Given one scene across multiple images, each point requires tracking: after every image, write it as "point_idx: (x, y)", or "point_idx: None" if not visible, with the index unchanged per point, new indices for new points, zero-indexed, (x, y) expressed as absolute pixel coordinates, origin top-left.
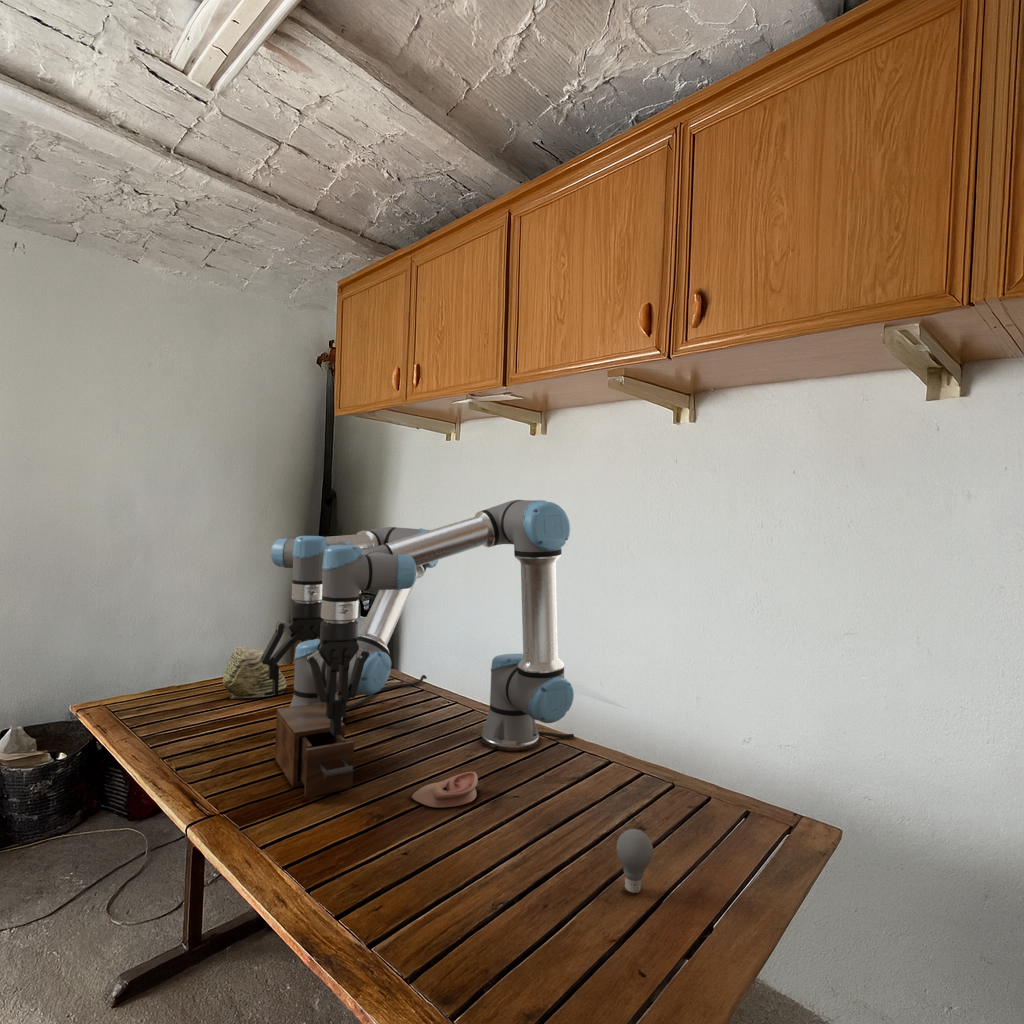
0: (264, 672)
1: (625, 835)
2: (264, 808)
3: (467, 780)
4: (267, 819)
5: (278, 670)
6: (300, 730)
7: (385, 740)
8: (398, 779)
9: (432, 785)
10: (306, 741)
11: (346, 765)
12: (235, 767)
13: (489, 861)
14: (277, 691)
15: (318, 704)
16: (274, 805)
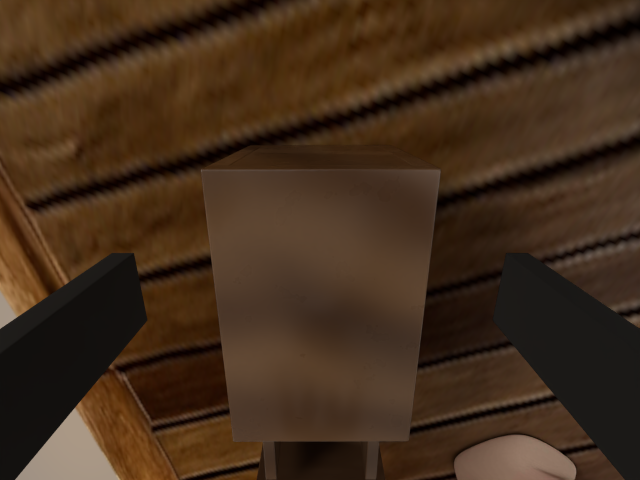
0: None
1: None
2: (196, 384)
3: None
4: (198, 419)
5: (25, 459)
6: (254, 434)
7: (598, 155)
8: (478, 383)
9: (503, 477)
10: (268, 450)
11: None
12: (139, 157)
13: None
14: (134, 331)
15: (408, 191)
16: (216, 381)
